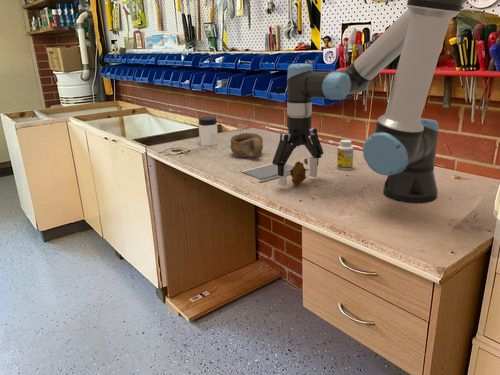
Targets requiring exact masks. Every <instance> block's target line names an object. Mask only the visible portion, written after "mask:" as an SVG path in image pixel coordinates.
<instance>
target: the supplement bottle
mask: <svg viewBox="0 0 500 375" xmlns="http://www.w3.org/2000/svg"><path fill="white" fill-rule="evenodd" d="M354 150H355V149H354V146H353V144H352V140H350V139H341V140H340V141H339V145H338V146H337V156H336V157H337V158H336V159H337V160H336V167H337V169H338V170H343V171H350V170H352V169H353V167H354V166H353V165H354V164H353V163H354Z"/></svg>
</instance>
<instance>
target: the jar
mask: <svg viewBox="0 0 500 375" xmlns="http://www.w3.org/2000/svg"><path fill="white" fill-rule="evenodd" d="M217 121H218V119H217V117H216V116H203V117H199V118H198V136H199V144H200V146H202V147H213V146H218V145H217V144H219V137H218V124H217V123H218V122H217Z"/></svg>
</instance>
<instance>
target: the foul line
mask: <svg viewBox="0 0 500 375" xmlns="http://www.w3.org/2000/svg"><path fill="white" fill-rule="evenodd" d="M305 170H306V171H310V168H306V167H305ZM290 174H291V173H290V172H288V173H287V177H288V176H291V175H290ZM277 179H279V176H278V175H277V176H273V177H270V178H266V179H262V180H259V181H258V182H259V183H261V184H262V183H266V182H269V181H273V180H277Z"/></svg>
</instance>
